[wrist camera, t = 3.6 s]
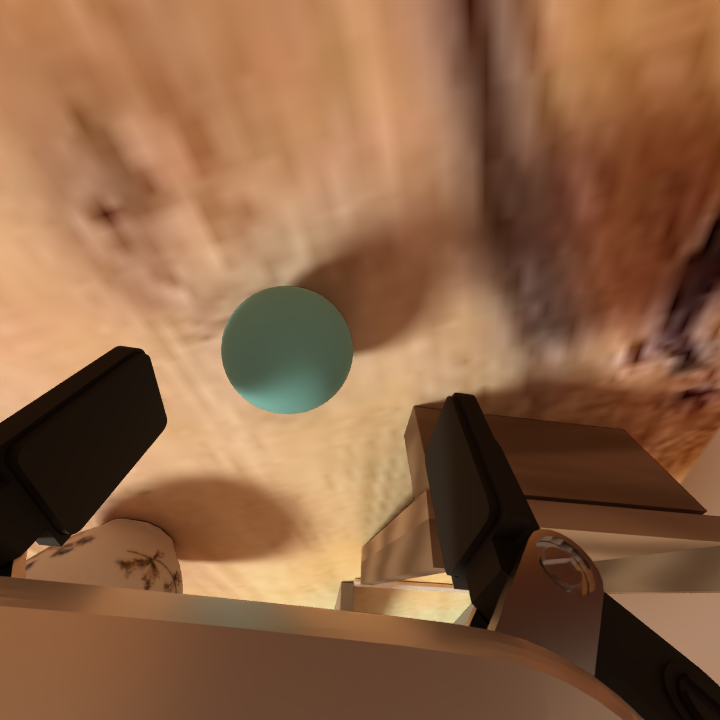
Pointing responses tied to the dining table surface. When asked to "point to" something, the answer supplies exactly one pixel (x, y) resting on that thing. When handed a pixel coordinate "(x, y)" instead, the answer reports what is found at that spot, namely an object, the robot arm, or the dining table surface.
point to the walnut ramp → (569, 508)
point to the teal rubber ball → (287, 350)
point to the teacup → (112, 558)
